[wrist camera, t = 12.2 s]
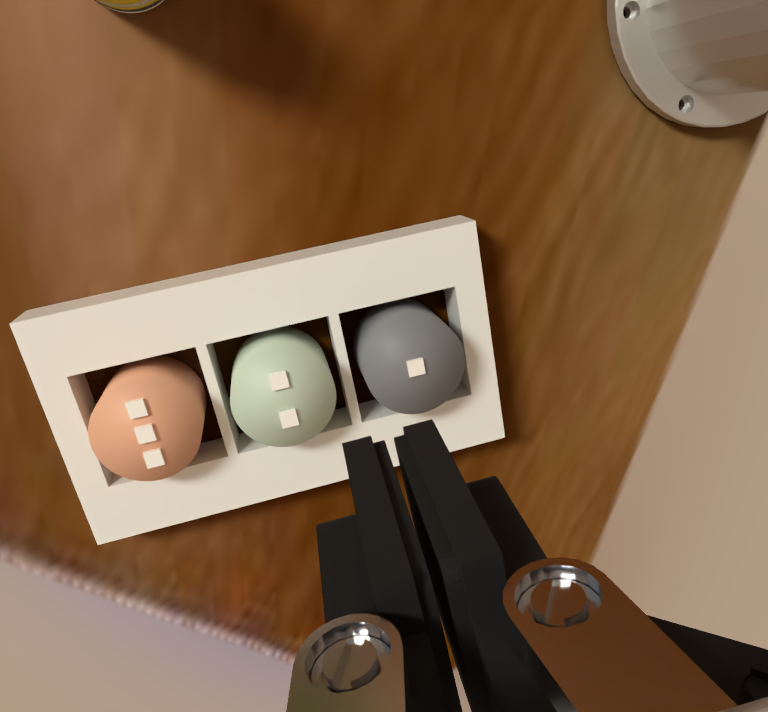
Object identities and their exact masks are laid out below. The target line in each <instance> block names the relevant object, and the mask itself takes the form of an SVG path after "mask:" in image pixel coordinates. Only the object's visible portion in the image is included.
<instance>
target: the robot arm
mask: <svg viewBox="0 0 768 712" xmlns="http://www.w3.org/2000/svg"><path fill="white" fill-rule="evenodd" d="M623 10H625V12H626V16H625V18H624V14H623ZM607 24H608V30H609V35H610V40H611V46H612V50H613V53H614V55H615V58H616V61H617V63H618V66H619V69H620V71H621V73H622V75H623V76H624V78H625V80H626V81H627V83H628V84H629V86H630V88H631V89H632V91H633V92H634V93H635V94H636V95H637V96H638V97H639V98H640V100H641V101H642V102H643V103H644V104H645V105H646V106H647V107H648V108H650V109H651V110H653V111H654V112H656V113H657V114H659V115H660V116H662V117H663V118H665V119H668V120H671V121H673V122H676V123H679V124H681V125H685V126H693V127H701V128H708V127H726V126H730V125H735V124H740V123H744V122H746V121H749V120H751V119H753V118H756V117H758V116H760V115H762V114H764V113H766V112H767V111H768V0H607ZM678 105H679V107H678ZM403 432H404V435H401V436H398V437H394V443H395V447H396V451H397V455H398V460H399V464H400V468H401V472H402V476H403V481H404V485H405V489H406V493H407V497H408V502H409V506H410V510H411V514H412V518H413V522H414V526H413V523H412V520H411V517H410V514H409V511H408V508H407V505H406V502H405V499H404V496H403V493H402V490H401V487H400V484H399V481H398V478H397V475H396V473H395V470H394V467H393V464H392V461H391V458H390V455H389V452H388V449H387V446H386V443H385V440H383V441H379V442H375V443H373V441H372V437H371V436H367V437H363V438H360V439H356V440H352V441H348V442H345V443H342V446H343V451H344V456H345V461H346V466H347V471H348V476H349V481H350V486H351V491H352V496H353V501H354V506H355V511H356V514H354V515H350V516H347V517H343V518H339V519H336V520H332V521H328V522H325V523H321V524H318V525H317V526H316V529H317V541H318V551H319V562H320V572H321V583H322V593H323V603H324V614H325V624H324V625H322V626H320V627H319V628H318V629H317V630H316V631H314V632H313V633H312V634H311V635H310V636H309V637H307V639H306V640H305V642H304V643H303V644H302V646H301V647H300V649H299V650H298V652H297V655H296V658H295V661H294V664H293V671H292V678H291V684H290V690H289V697H288V704H287V711H286V712H462V708H461V705H460V700H459V696H458V691H457V687H456V683H455V679H454V674H453V670H452V666H451V662H450V657H449V653H448V649H447V645H446V641H445V636H444V632H443V628H442V624H441V620H442V623H443V626H444V629H445V632H446V635H447V638H448V641H449V644H450V647H451V650H452V654H453V657H454V660H455V663H456V666H457V669H458V672H459V675H460V678H461V681H462V684H463V687H464V690H465V693H466V696H467V699H468V702H469V705H470V708H471V711H472V712H768V650H766V649H763V648H760V647H756V646H753V645H749V644H745V643H742V642H738V641H735V640H732V639H728V638H725V637H721V636H718V635H714V634H710V633H707V632H704V631H700V630H697V629H693V628H689V627H686V626H683V625H679V624H676V623H672V622H669V621H665V620H662V619H658V618H655V617H651V616H648V615H646V614H645V613H644V612H643V611H642V610H641V609H640V608H639V607H638V606H636V605H635V603H633V601H632V600H630V599H629V598H628V597H627V596H626V595H625V594H624V593H623V592H622V591H621V590H620V589H619V588H618V587H617V586H616V585H615V584H614V583H613V582H612V581H611V580H610V579H609V578H608V577H607V576H606V575H605V574H604V573H603V572H601V571H600V570H598V569H597V568H596V567H594V566H593V565H590V564H588V563H585V562H582V561H580V560H576V559H569V558H547V557H546V556H545V554H544V552H543V551H542V549H541V547H540V546H539V544H538V543H537V541H536V539H535V538H534V536H533V535H532V533H531V531H530V530H529V528H528V526H527V525H526V523H525V522H524V520H523V518H522V517H521V515H520V514H519V512H518V510H517V509H516V507H515V505H514V504H513V502H512V501H511V499H510V497H509V496H508V494H507V492H506V491H505V489H504V488H503V486H502V484H501V483H500V481H499V480H498V479H497V477H496V476H492V477H488V478H484V479H481V480H477V481H473V482H470V483H465V481H464V479H463V477H462V475H461V473H460V471H459V469H458V468H457V466H456V464H455V462H454V460H453V458H452V456H451V454H450V452H449V450H448V448H447V446H446V444H445V443H444V441H443V439H442V437H441V435H440V433H439V431H438V429H437V427H436V425H435V423H434V421H433V420H432V419H431V420H427V421H423V422H419V423H416V424H412V425H408V426H404V427H403ZM414 527H415V529H414ZM415 531H416V532H415ZM439 614H440V615H439ZM440 617H441V619H440Z"/></svg>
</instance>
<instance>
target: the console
mask: <svg viewBox="0 0 768 712" xmlns="http://www.w3.org/2000/svg"><path fill="white" fill-rule="evenodd" d="M442 289H444V295H445V301H446V308H447V314H448V320H449V327H450V329H451V330H452V331H453V332H454V333H455V334H456V335H457V337H458V338H459V340H460V342H461V344H462V347H463V350H464V356H465V368H464V373H463V377H462V380H461V382H460V384H459V386H458V388H457V389H456V391H455V392H454V393H453V395H452V396H451V397H450V398H449V399H448V400H447V401H445V402H444V403H443V404H442V405H440V406H438V407H437V408H435V409H433V410H430V411H427V412H424V413H419V414H402V413H398V412H395V411H392V410H390V409H388V408H386V407H385V406H383V405H382V404H380V403H379V402H378V401H377V400H376V399H375V400H371V401H367V402H363V403H359V404H358V402H357V397H356V393H355V388H354V383H353V379H352V374H351V370H350V365H349V360H348V356H347V351H346V347H345V342H344V337H343V333H342V328H341V324H340V319H339V315H338V314H339V313H343V312H348V311H352V310H356V309H360V308H365V307H369V306H373V305H378V304H382V303H386V302H390V301H395V300H399V299H403V298H408V297H412V296H416V295H421V294H425V293H429V292H433V291H438V290H442ZM322 317H326V319H327V324H328V328H329V333H330V337H331V341H332V346H333V350H334V355H335V359H336V364H337V368H338V373H339V377H340V381H341V386H342V390H343V395H344V399H345V404H346V407H343V408H339V409H335V410H334V412H333V415H332V417H331V419H330V421H329V422H328V424H327V425H326V426H325V428H324V429H323V430H322V431H321V432H320V433H319V434H317V435H316V436H315V437H313V438H312V439H310V440H308V441H306V442H304V443H301V444H298V445H295V446H290V447H274V446H269V445H265V444H262V443H260V442H257V441H255V440H254V439H252V438H250V437H249V436H248V435H247V434H245V433H244V432H243V433H239V432H238V429H237V425H236V422H235V419H234V417H233V414H232V411H231V406H230V401H229V398H228V394H227V391H226V387H225V384H224V380H223V377H222V374H221V370H220V367H219V363H218V360H217V356H216V353H215V350H214V346H213V343H214V342H219V341H223V340H227V339H232V338H236V337H240V336H245V335H249V334H253V333H257V332H262V331H266V330H270V329H275V328H279V327H283V326H287V325H292V324H296V323H300V322H305V321H309V320H313V319H317V318H322ZM10 327H11V329H12V332H13V334H14V337H15V339H16V342H17V344H18V347H19V349H20V352H21V354H22V357H23V359H24V362H25V364H26V367H27V369H28V372H29V374H30V377H31V379H32V382H33V384H34V387H35V389H36V392H37V394H38V397H39V399H40V402H41V404H42V407H43V409H44V412H45V414H46V417H47V419H48V422H49V424H50V427H51V429H52V432H53V434H54V437H55V439H56V442H57V444H58V447H59V449H60V452H61V454H62V457H63V459H64V462H65V464H66V467H67V469H68V472H69V474H70V477H71V479H72V482H73V484H74V487H75V489H76V492H77V494H78V497H79V499H80V502H81V504H82V507H83V509H84V512H85V514H86V517H87V519H88V522H89V524H90V527H91V529H92V532H93V534H94V537H95V539H96V542H97V544H98V545H100V544H103V543H107V542H111V541H115V540H119V539H122V538H126V537H130V536H134V535H137V534H141V533H145V532H149V531H153V530H156V529H160V528H164V527H168V526H172V525H175V524H179V523H183V522H187V521H191V520H194V519H198V518H202V517H206V516H209V515H213V514H217V513H221V512H225V511H228V510H232V509H236V508H240V507H244V506H247V505H251V504H255V503H259V502H263V501H266V500H270V499H274V498H278V497H282V496H285V495H289V494H293V493H297V492H300V491H304V490H308V489H312V488H316V487H319V486H323V485H327V484H331V483H335V482H338V481H342V480H346V479H349V476H348V471H347V466H346V461H345V456H344V451H343V446H342V443H345V442H348V441H352V440H356V439H360V438H363V437H367V436H371V437H372V441H373V443H375V442H379V441H383V440H385V443H386V446H387V449H388V452H389V455H390V458H391V461H392V464H393V467H395V466H399V465H400V464H399V460H398V455H397V451H396V447H395V443H394V437H398V436H401V435H404V432H403V427H404V426H408V425H412V424H416V423H419V422H423V421H427V420H431V419H432V420H433V421H434V423H435V425H436V427H437V429H438V431H439V433H440V435H441V437H442V439H443V441H444V443H445V444H446V446H447V448H448V450H449V452H452V451H456V450H460V449H463V448H467V447H471V446H475V445H479V444H482V443H486V442H490V441H494V440H498V439H501V438H505V434H504V426H503V419H502V412H501V404H500V397H499V390H498V382H497V375H496V368H495V360H494V353H493V346H492V338H491V331H490V324H489V316H488V309H487V302H486V294H485V287H484V280H483V272H482V265H481V258H480V250H479V243H478V236H477V228H476V221H475V220H472V219H470V218H467V217H464V216H461V215H458V216H454V217H449V218H445V219H440V220H435V221H431V222H426V223H422V224H417V225H413V226H408V227H404V228H399V229H395V230H390V231H385V232H381V233H376V234H372V235H367V236H363V237H358V238H354V239H349V240H344V241H340V242H335V243H331V244H326V245H322V246H317V247H313V248H308V249H304V250H299V251H294V252H290V253H285V254H281V255H276V256H272V257H267V258H263V259H258V260H253V261H249V262H244V263H240V264H235V265H231V266H226V267H222V268H217V269H213V270H208V271H203V272H199V273H194V274H190V275H185V276H181V277H176V278H172V279H167V280H162V281H158V282H153V283H149V284H144V285H140V286H135V287H131V288H126V289H122V290H117V291H112V292H108V293H103V294H99V295H94V296H90V297H85V298H81V299H76V300H71V301H67V302H62V303H58V304H53V305H49V306H44V307H40V308H35V309H31V310H27V311H25V312H24V313H23V314H21V315H20V316H19V317H18V318H16V319H15V320H14V321H12V322H11V323H10ZM193 347H196V351H197V354H198V357H199V361H200V364H201V367H202V371H203V374H204V377H205V381H206V384H207V387H208V390H209V394H210V397H211V400H212V404H213V407H214V410H215V414H216V417H217V420H218V424H219V427H220V430H221V434H222V437H223V438H220V439H216V440H212V441H208V442H204V443H200V446H199V449H198V452H197V453H196V455H195V457H194V458H193V460H192V461H191V462H190V463H189V464H188V465H187V466H186V467H185V468H184V469H183V470H181V471H180V472H178V473H176V474H175V475H173V476H170V477H168V478H165V479H161V480H156V481H136V480H131V479H127V478H124V477H122V476H119V475H117V474H115V473H113V472H112V471H110V470H109V469H108V468H106V467H105V466H104V465H103V464H102V463H101V462H100V461H99V460H98V458H97V457H96V455H95V454H94V452H93V450H92V448H91V445H90V442H89V437H88V425H89V420H90V417H91V414H92V412H93V410H94V408H95V406H96V403H95V400H94V398H93V395H92V392H91V390H90V387H89V384H88V381H87V379H86V376H85V373H86V372H90V371H94V370H99V369H103V368H107V367H111V366H116V365H120V364H124V363H129V362H133V361H137V360H142V359H146V358H150V357H154V356H159V355H163V354H167V353H172V352H176V351H180V350H184V349H189V348H193Z"/></svg>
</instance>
